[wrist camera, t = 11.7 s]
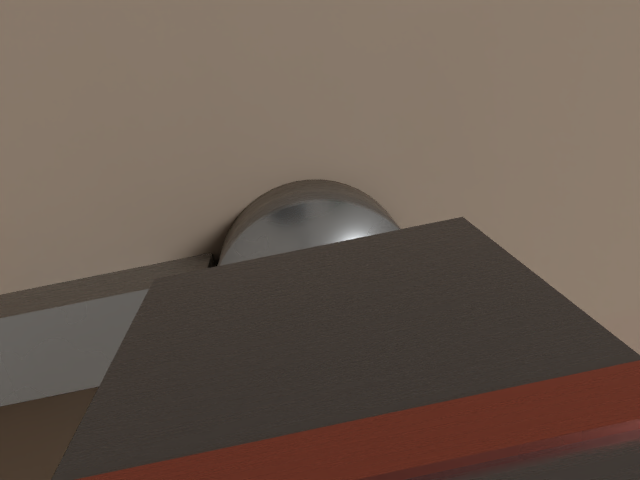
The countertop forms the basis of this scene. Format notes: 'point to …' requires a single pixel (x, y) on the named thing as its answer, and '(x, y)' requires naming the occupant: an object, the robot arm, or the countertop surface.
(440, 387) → the red-striped grey cube
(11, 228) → the countertop surface
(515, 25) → the countertop surface
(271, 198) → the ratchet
